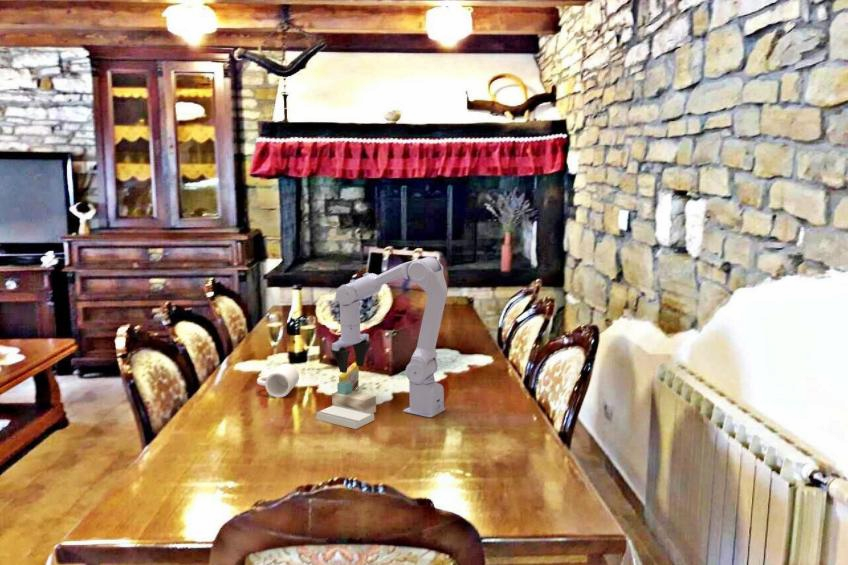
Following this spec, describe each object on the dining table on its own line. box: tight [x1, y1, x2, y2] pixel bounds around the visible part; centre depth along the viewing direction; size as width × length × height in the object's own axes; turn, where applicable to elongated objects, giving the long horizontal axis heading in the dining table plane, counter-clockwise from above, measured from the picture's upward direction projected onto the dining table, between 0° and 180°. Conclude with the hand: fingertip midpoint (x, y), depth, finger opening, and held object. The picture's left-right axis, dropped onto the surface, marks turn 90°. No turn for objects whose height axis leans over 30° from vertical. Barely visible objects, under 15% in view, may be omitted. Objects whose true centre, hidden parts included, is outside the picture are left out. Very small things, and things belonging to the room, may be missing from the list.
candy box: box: [338, 362, 360, 392], centre depth 218 cm, size 16×2×8 cm, turn 170°
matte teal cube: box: [336, 381, 352, 395], centre depth 206 cm, size 3×3×3 cm
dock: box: [315, 404, 375, 430], centre depth 197 cm, size 14×8×2 cm, turn 56°
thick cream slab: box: [331, 390, 377, 414], centre depth 205 cm, size 12×5×5 cm, turn 57°
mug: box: [256, 363, 300, 399], centre depth 221 cm, size 12×10×8 cm
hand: (351, 369), depth 211 cm, fingers open, 7 cm apart
